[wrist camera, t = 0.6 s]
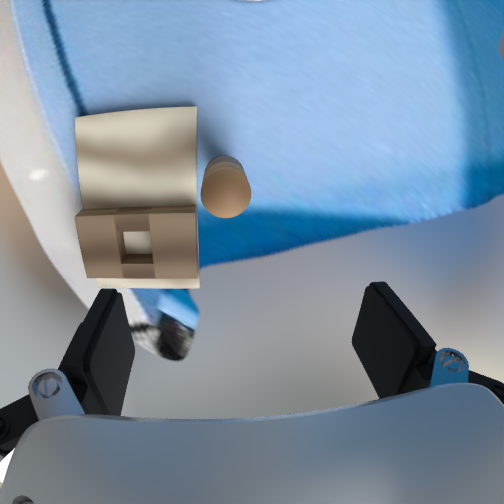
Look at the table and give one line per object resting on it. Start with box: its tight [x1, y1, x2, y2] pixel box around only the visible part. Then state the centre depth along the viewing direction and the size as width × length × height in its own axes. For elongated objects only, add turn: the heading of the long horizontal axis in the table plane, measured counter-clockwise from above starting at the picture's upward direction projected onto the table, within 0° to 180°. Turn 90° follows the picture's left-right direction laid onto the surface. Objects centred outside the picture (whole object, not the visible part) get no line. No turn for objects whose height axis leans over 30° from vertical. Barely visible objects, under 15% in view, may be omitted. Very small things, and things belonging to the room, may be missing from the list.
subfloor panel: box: [75, 107, 200, 288], centre depth 32 cm, size 22×14×4 cm, turn 177°
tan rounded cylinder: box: [201, 156, 251, 218], centre depth 29 cm, size 4×4×10 cm
